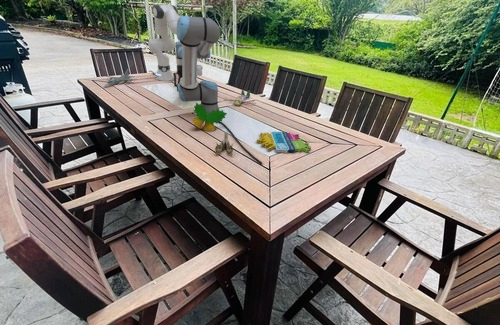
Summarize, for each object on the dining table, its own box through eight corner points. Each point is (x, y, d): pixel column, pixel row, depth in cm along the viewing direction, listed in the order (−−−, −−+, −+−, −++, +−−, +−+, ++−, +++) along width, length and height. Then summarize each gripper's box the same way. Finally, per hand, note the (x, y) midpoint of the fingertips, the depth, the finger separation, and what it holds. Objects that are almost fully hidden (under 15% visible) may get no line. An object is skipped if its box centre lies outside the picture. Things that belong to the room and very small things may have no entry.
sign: (313, 150, 142) (258, 149, 139) (312, 153, 143) (258, 152, 140) (301, 132, 164) (254, 130, 161) (301, 134, 165) (254, 133, 162)
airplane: (101, 79, 257) (98, 68, 252) (135, 77, 270) (133, 67, 265) (102, 89, 228) (99, 78, 223) (140, 87, 242) (138, 76, 237)
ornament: (218, 133, 171) (224, 110, 169) (221, 134, 163) (227, 111, 161) (186, 125, 162) (192, 101, 160) (189, 126, 155) (195, 101, 153)
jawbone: (234, 135, 144) (233, 125, 135) (233, 160, 138) (232, 151, 129) (217, 135, 144) (216, 125, 135) (216, 160, 138) (214, 150, 129)
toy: (261, 91, 228) (254, 99, 202) (261, 99, 231) (253, 108, 205) (231, 87, 233) (220, 95, 207) (230, 95, 236) (219, 104, 210)
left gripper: (202, 64, 240) (203, 79, 246) (180, 62, 238) (181, 78, 245) (202, 65, 234) (202, 81, 241) (178, 64, 232) (179, 80, 239)
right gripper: (195, 64, 196) (196, 95, 207) (170, 63, 194) (172, 94, 206) (194, 66, 189) (195, 97, 201) (167, 64, 188) (170, 96, 199)
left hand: (191, 79), depth 243 cm, fingers closed on beam, 5 cm apart
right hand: (183, 95), depth 203 cm, fingers closed on beam, 6 cm apart
